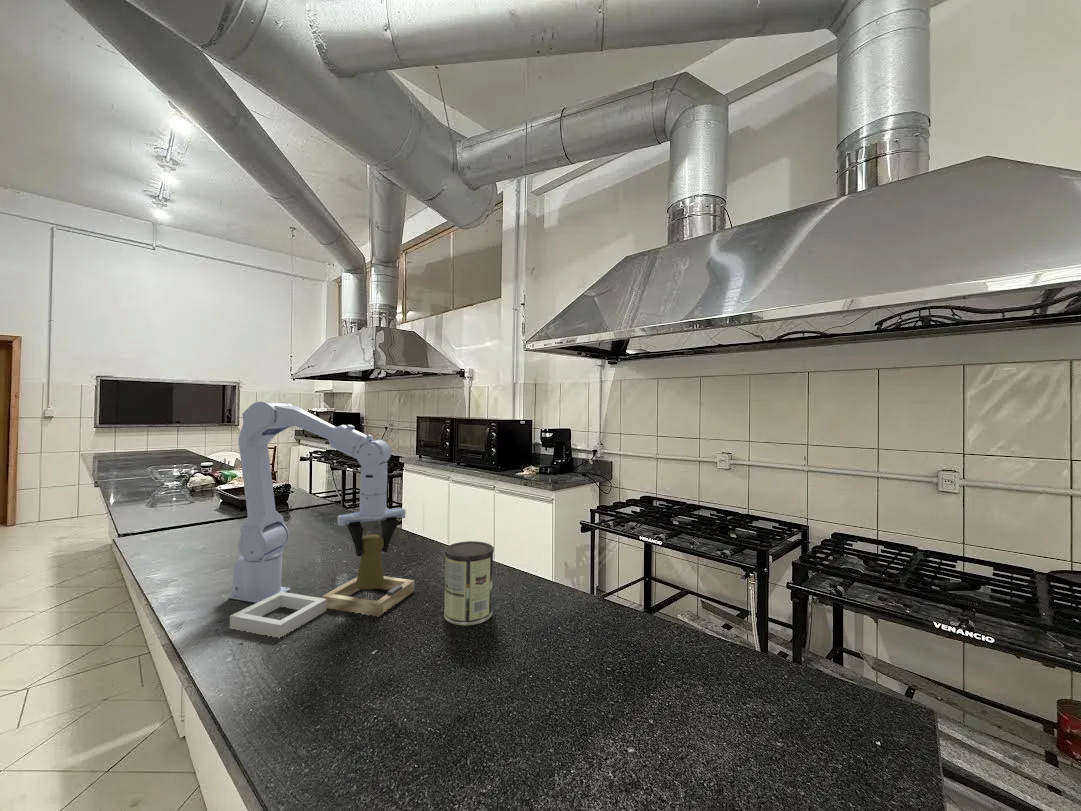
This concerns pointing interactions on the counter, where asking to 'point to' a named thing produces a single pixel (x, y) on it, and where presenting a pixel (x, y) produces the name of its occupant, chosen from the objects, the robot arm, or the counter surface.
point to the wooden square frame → (369, 607)
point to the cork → (371, 563)
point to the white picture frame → (255, 623)
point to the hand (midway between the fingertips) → (371, 553)
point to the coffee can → (468, 582)
